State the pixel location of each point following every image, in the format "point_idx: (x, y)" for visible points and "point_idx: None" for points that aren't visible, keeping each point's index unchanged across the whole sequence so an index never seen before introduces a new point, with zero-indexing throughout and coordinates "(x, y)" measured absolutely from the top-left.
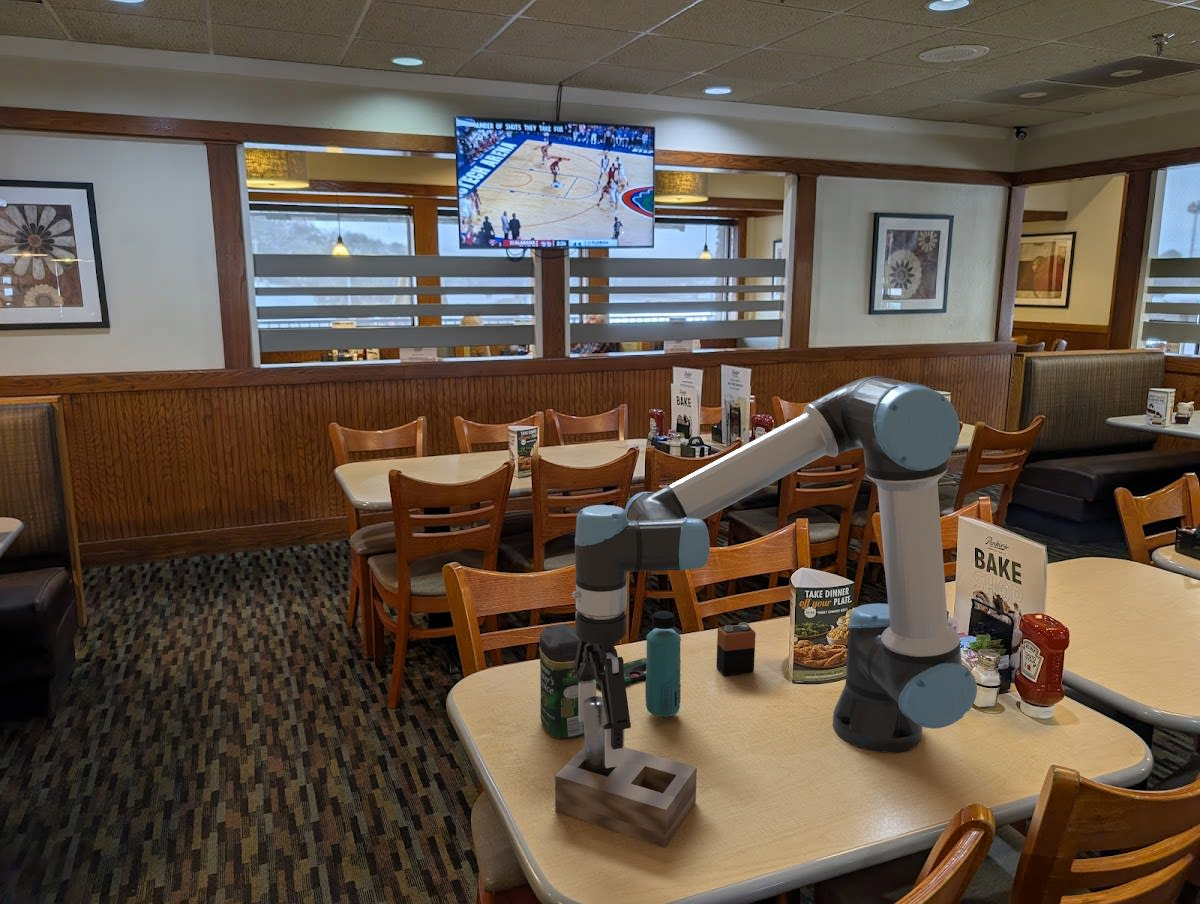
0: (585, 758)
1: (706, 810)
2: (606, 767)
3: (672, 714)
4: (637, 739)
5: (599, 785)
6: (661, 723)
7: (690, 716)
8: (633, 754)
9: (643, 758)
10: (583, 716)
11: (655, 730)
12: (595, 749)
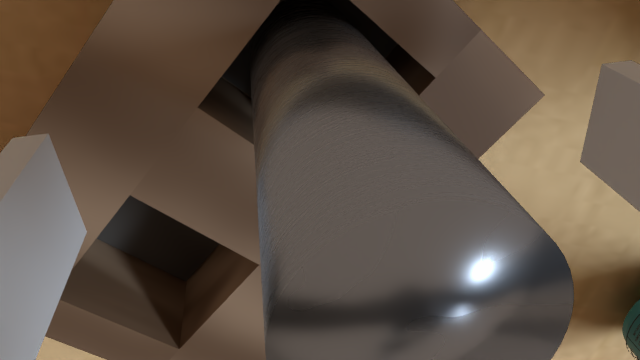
0: (383, 27)
1: None
2: (11, 140)
3: (623, 331)
4: (580, 217)
5: (119, 54)
6: (620, 287)
7: (609, 351)
8: None
9: None
10: (619, 101)
11: (597, 268)
12: (257, 106)
